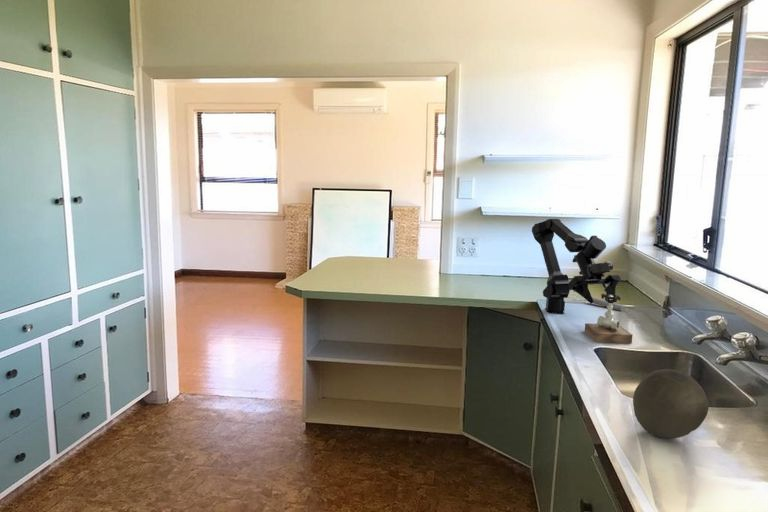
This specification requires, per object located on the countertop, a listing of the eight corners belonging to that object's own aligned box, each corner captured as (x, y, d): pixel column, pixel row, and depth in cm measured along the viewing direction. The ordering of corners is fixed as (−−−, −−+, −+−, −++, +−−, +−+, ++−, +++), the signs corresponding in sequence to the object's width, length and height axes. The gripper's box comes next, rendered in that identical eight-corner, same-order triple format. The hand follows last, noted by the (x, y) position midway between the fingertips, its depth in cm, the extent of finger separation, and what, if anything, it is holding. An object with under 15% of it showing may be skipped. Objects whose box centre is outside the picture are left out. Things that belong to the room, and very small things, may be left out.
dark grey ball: (641, 449, 113) (648, 381, 110) (623, 418, 127) (629, 358, 124) (713, 456, 110) (722, 388, 108) (687, 424, 124) (695, 363, 122)
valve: (613, 332, 183) (616, 298, 181) (594, 328, 188) (597, 295, 186) (621, 328, 188) (624, 295, 186) (602, 324, 192) (605, 292, 190)
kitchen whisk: (623, 313, 220) (625, 298, 219) (551, 298, 245) (552, 284, 244) (630, 311, 224) (632, 296, 223) (558, 296, 249) (559, 282, 248)
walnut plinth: (595, 342, 182) (596, 333, 182) (584, 331, 194) (585, 323, 194) (631, 343, 182) (632, 334, 181) (618, 332, 194) (618, 324, 193)
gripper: (575, 254, 189) (592, 291, 181) (620, 252, 194) (638, 289, 185) (561, 271, 198) (576, 307, 190) (604, 269, 203) (621, 305, 194)
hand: (603, 302), depth 190 cm, fingers open, 9 cm apart
